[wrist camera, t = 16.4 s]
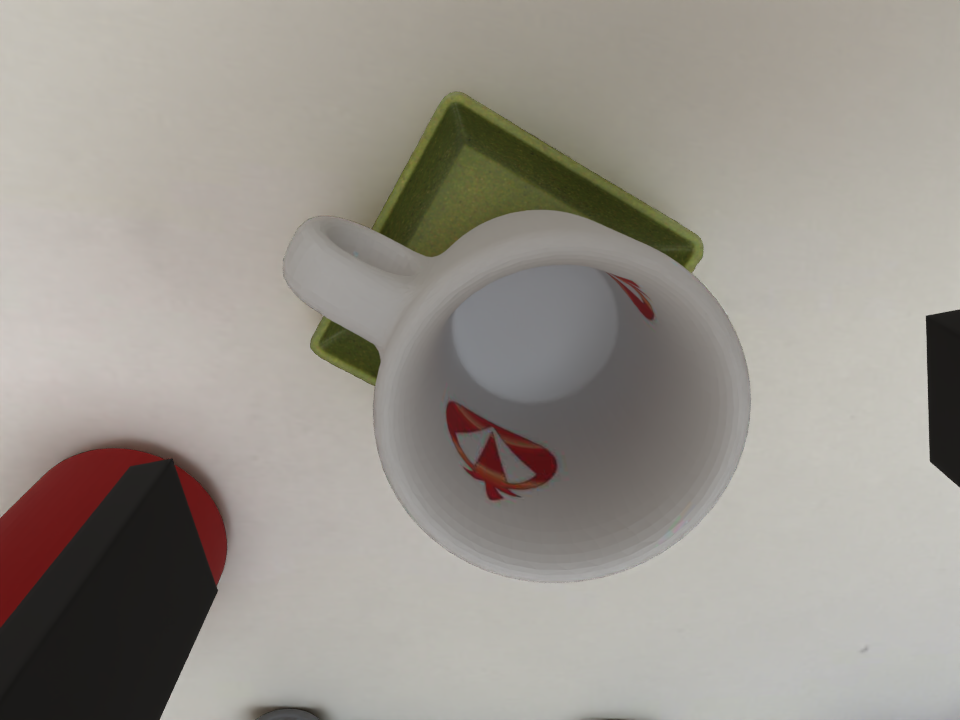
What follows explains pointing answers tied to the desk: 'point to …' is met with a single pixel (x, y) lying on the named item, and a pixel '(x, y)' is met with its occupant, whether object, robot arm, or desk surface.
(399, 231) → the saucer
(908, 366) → the desk surface
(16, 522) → the beverage can
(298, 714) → the toy car
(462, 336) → the cup
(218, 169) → the desk surface
